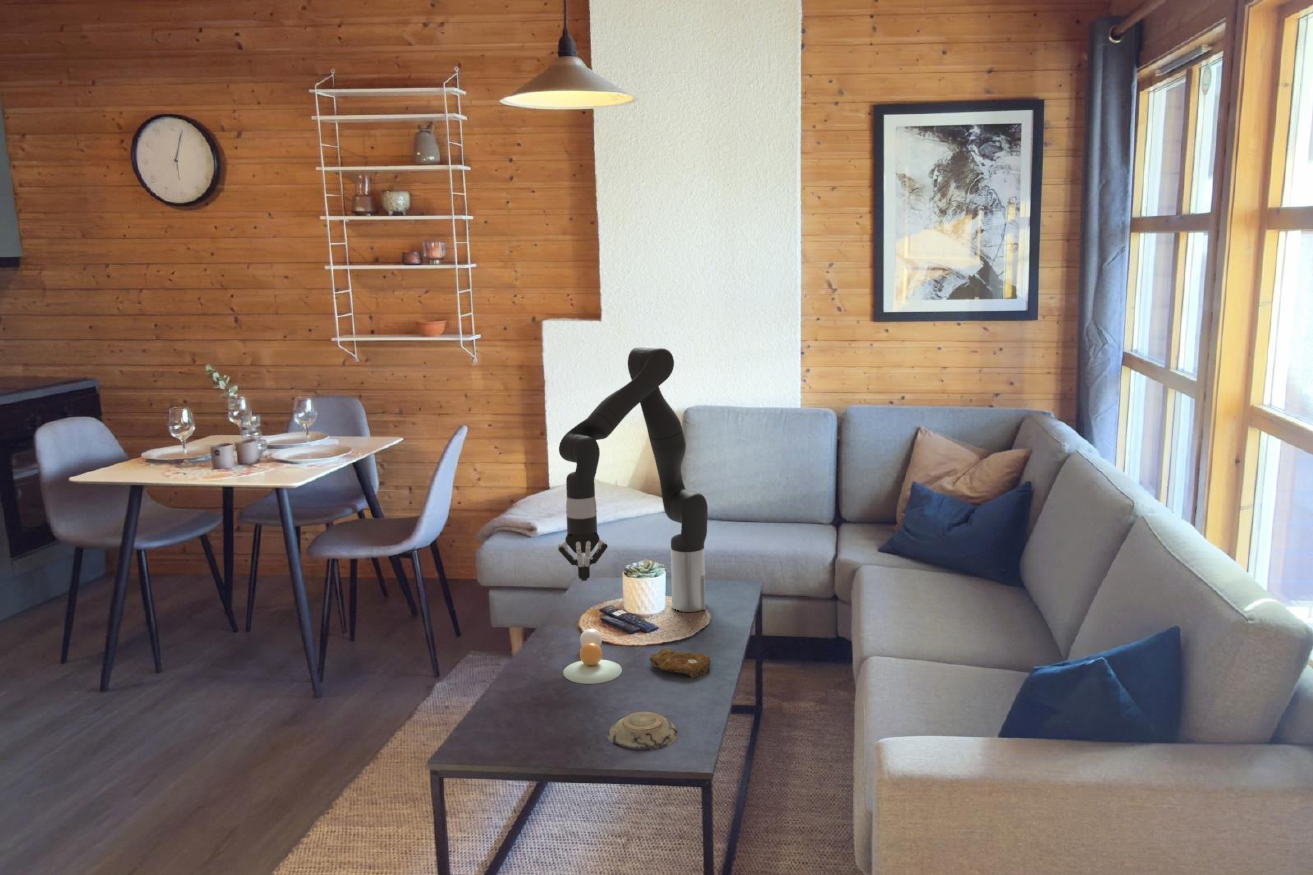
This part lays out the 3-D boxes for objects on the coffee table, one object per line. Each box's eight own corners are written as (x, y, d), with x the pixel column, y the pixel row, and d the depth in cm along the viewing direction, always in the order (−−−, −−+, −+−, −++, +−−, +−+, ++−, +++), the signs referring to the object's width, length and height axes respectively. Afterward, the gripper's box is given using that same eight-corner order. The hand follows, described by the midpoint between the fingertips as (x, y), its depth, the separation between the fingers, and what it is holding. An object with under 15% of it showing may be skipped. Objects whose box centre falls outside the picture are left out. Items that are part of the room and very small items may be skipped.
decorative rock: (642, 678, 249) (704, 685, 245) (642, 662, 248) (704, 669, 244) (654, 657, 259) (714, 664, 256) (654, 641, 258) (714, 648, 255)
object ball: (602, 641, 258) (605, 646, 253) (599, 664, 258) (601, 669, 253) (580, 639, 257) (582, 644, 252) (577, 661, 257) (579, 666, 252)
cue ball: (605, 627, 264) (605, 649, 262) (597, 632, 269) (596, 653, 266) (585, 625, 262) (584, 647, 260) (577, 629, 266) (576, 651, 264)
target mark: (623, 659, 258) (623, 658, 258) (620, 683, 244) (620, 682, 244) (566, 660, 258) (566, 659, 258) (560, 684, 245) (560, 683, 245)
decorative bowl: (600, 726, 225) (616, 758, 210) (599, 710, 224) (615, 740, 210) (667, 717, 229) (687, 747, 214) (667, 701, 228) (687, 730, 214)
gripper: (606, 508, 267) (608, 573, 270) (554, 511, 265) (556, 577, 269) (609, 515, 260) (611, 582, 263) (555, 519, 258) (558, 586, 261)
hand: (584, 579), depth 266 cm, fingers closed
